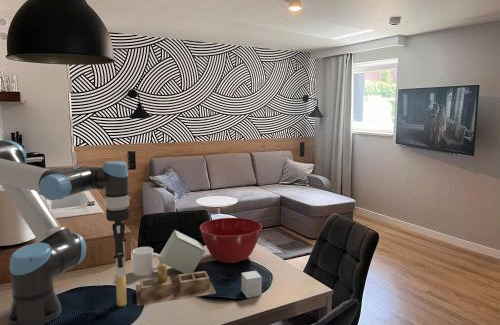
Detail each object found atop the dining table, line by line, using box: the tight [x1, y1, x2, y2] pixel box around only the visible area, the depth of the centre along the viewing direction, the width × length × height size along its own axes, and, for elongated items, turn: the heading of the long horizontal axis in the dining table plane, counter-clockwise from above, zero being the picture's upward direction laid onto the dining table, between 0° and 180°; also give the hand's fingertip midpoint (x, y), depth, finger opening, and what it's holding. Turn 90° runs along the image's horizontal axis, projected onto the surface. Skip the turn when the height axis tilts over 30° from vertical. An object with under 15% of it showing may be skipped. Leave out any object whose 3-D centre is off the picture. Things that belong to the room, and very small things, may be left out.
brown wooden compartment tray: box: [135, 263, 217, 307], centre depth 139 cm, size 28×16×11 cm, turn 109°
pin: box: [115, 273, 128, 307], centre depth 128 cm, size 3×3×12 cm
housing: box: [159, 229, 206, 274], centre depth 156 cm, size 14×10×12 cm
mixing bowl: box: [199, 217, 263, 264], centre depth 172 cm, size 28×28×16 cm
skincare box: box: [241, 270, 263, 299], centre depth 139 cm, size 6×6×7 cm
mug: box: [132, 246, 163, 277], centre depth 154 cm, size 12×8×10 cm
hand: (121, 267), depth 127 cm, fingers open, 13 cm apart
